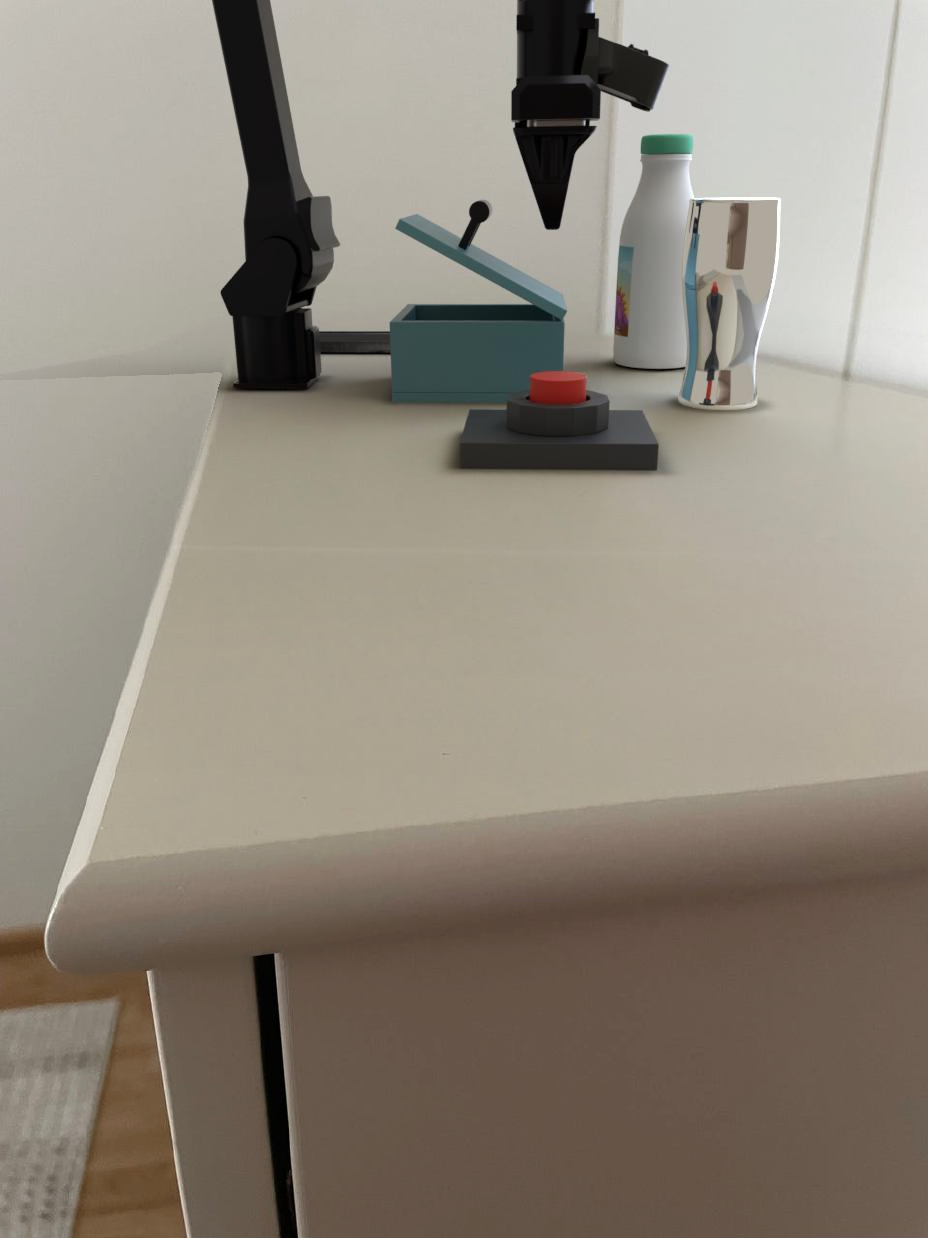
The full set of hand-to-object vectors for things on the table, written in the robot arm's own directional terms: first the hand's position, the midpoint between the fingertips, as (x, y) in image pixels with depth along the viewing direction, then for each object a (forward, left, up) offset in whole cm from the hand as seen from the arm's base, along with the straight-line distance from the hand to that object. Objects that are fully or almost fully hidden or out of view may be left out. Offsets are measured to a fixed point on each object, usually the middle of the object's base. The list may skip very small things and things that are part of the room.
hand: (551, 227), depth 83 cm
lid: (-6, 0, -3) cm, 6 cm away
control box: (0, -22, -13) cm, 25 cm away
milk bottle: (+10, +13, -13) cm, 21 cm away
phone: (-20, +23, -13) cm, 33 cm away
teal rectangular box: (-6, 0, -13) cm, 14 cm away
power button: (0, -22, -10) cm, 24 cm away
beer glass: (+13, -6, -13) cm, 20 cm away
